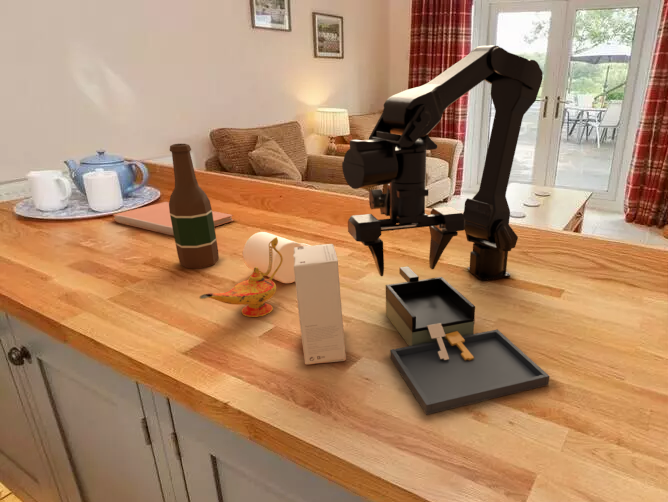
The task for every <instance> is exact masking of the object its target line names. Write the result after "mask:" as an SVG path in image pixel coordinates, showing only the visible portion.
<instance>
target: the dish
mask: <svg viewBox="0 0 668 502" xmlns="http://www.w3.org/2000/svg"><path fill="white" fill-rule="evenodd" d="M398 272H399V275H400V276H401V277H402V278H403V279H404V280H405V281H403V282H397V283H389V284H385V301H386V300H387V301H388V302H389V303H390V305H391V306H392V307H393V309H394V310H395V311H396V312H397V314H398V315H399V316H400V317H401V319H402V320H403V321H404V323H405V324H406V325H407V326H408V328H409V329H410V330H411V331H412V332H417V331H423V330H428V329H427V325H432V324H438V323H441V324H442V327H445V326H450V325H456V324H461V323H467V322H472V321H474V322H475V319H476V318H475V317H476V306H475V305H474V304H473V303H472V302H471V301H470V300H469V299H468V298H467V297H465V295H464V294H462V293H461V292H460V291H458V290H457V288H455V287H454V286H453V285H452V284H450V283H449V281H447V280H446V279H445V278H444V277H443V276H438V277H432V278H425V279H420V277H419V275H418V274H417V273H415V271H414V270H412V268H411V267H409V265H407V266H400V267H399V271H398Z"/></svg>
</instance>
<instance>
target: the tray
mask: <svg viewBox="0 0 668 502" xmlns="http://www.w3.org/2000/svg"><path fill="white" fill-rule="evenodd" d="M462 337H463V338H464V340H465V342H463V344H464V346H465V347H466V348H467V349H468V351H469V352H470V353H471V354H472V355H473V357H474V359H473V360H470V361H469V360H464V359H463V357H462V356H461V353H462V351H461V350H460V349H459V348H458V346H457V345H453V346H452V345H451V344H450V343H449V342H448V340H447V339H444V340H443V343H444V346H445V348H446V351H447V354H448V356H449V360H447V361H443V360H440V359H439V357H438V354H437V352H438V351H440V350H439V347H438V344H437V341H434V342H429V343H423V344H418V345H413V346H408V345H407V346H403V347H398V348H391V349H389V352H390V353H389V354H390V356H389V358H390V360H391V361H392V363H393V365H394V367H395V368H396V369H397V371H398V372H399V374H400V375H401V378H402V379H403V380H404V382H405V384H406V385H407V387H408V388H409V390H410V391H411V393H412V394H413V396H414V398H415V399H416V402H418V404H419V406H420V407H421V409H422V410H423V412H424V414H425V415H426V416H428V415H431V414H435V413H440V412H443V411H447V410H451V409H456V408H460V407H464V406H469V405H472V404H475V403H480V402H485V401H489V400H493V399H496V398H500V397H504V396H509V395H513V394H517V393H521V392H525V391H529V390H533V389H538V388H542V387H546V386H549V384H550V383H549V382H550V377H551V376H550V375H549V374H548V373H547V372H546V371H545V370H544V369H542V368H541V367H540V366H539V365H538V364H537V363H536V362H534V361H533V360H532V358H530V357H529V356H528V355H527V354H526V353H525V352H524V351H522V350H521V349H520V347H518V346H517V345H516V344H515V343H514V342H513V341H511V340H510V339H509V338H508V337H507V336H506V335H505V334H504V333H502V332H501V331H500V330H499V329H498V328H497V329H492V330H487V331H481V332H477V333H473V334H470V335H465V336H462Z"/></svg>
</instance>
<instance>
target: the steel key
mask: <svg viewBox="0 0 668 502" xmlns="http://www.w3.org/2000/svg"><path fill="white" fill-rule="evenodd" d="M427 329H428V332H429V335H430V338H431V340H433V339H436V341H437V344H438V347H439V350H440V351H438V352H437V354H438V357H439V359H440V360H443V361H447V360H449V356H448V354H447V351H446V348H445V346H444V343H443V340H442V338H444V337H446V335H445V333H444V330H443V327H442V324H441V323H438V324H432V325H427Z"/></svg>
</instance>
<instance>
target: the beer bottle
mask: <svg viewBox="0 0 668 502" xmlns="http://www.w3.org/2000/svg"><path fill="white" fill-rule="evenodd" d="M191 151H192V148H191V145H190V144H187V143H174V144H170V145H169V152H170V153H171V157H172V166H173V177H174V188H173V190H172V191H171V194H170V196H169V200H168V202H169V211H170V217H171V222H172V228H173V233H174V234H173V235H174V236H173V237H174V243H175V248H176V254H177V258H178V261H179V264H180V265H181V266H182V267H184V268H186V269H202V268H206V267H211V266H214V265H215V264H216V263H217V262H218V261H219V259H220V256H219V246H218V241H217V234H216V228H215V227H216V226H215V227H214V221H213V214H212V211H213V209H212V204H211V200H210V199H209V197H208V195H207V194H206V192H205V191H204V189H202V188H201V187H200V185H199V183H198V180H197V176H196V171H195V168H194V163H193V160H192V159H193V158H192V155H191Z"/></svg>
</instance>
